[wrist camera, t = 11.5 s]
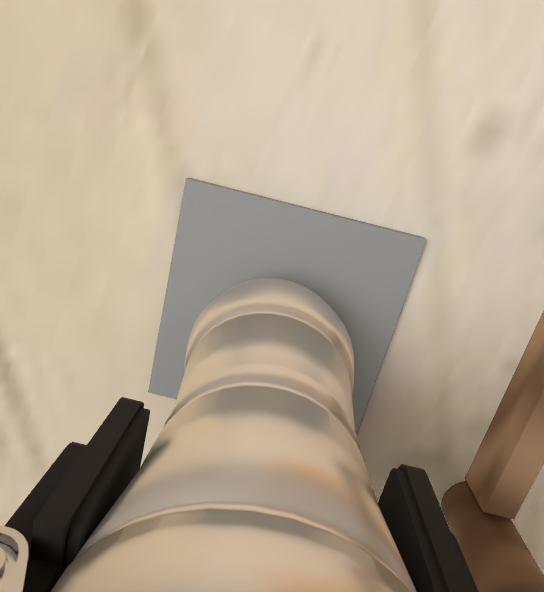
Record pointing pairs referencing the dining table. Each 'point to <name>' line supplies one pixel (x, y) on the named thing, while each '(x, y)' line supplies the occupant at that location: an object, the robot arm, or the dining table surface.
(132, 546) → the silver metal bottle
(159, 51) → the dining table surface
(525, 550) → the brown piece
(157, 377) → the mat
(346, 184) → the dining table surface
